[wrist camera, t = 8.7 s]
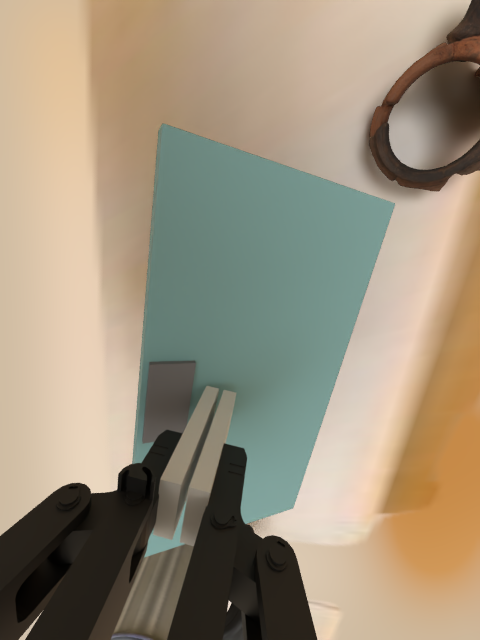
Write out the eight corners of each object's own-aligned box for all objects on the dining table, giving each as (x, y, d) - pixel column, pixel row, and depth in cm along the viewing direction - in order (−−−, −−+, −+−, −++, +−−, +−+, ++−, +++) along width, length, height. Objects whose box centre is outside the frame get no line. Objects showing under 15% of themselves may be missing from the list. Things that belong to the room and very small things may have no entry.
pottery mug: (491, 185, 23) (501, 197, 17) (371, 184, 27) (348, 193, 22) (577, -33, 16) (640, -129, 11) (403, 14, 21) (383, -35, 16)
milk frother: (181, 539, 39) (128, 706, 25) (126, 455, 36) (29, 592, 22) (270, 519, 36) (266, 699, 22) (217, 424, 33) (172, 563, 19)
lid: (158, 130, 11) (163, 121, 10) (379, 203, 18) (399, 203, 16) (125, 544, 19) (126, 568, 18) (285, 496, 25) (295, 511, 24)
